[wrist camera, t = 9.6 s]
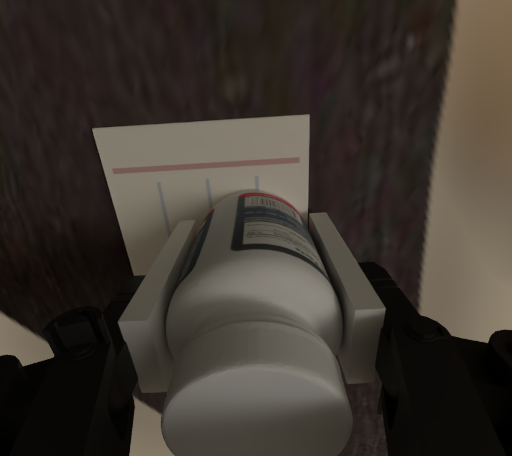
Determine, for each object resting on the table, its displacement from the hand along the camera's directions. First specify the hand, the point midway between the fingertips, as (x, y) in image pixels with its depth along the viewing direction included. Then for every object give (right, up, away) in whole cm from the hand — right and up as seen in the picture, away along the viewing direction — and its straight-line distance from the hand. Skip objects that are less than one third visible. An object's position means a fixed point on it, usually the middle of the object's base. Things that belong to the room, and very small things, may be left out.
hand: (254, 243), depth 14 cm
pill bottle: (0, 0, +1) cm, 1 cm away
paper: (-2, 0, +1) cm, 2 cm away
